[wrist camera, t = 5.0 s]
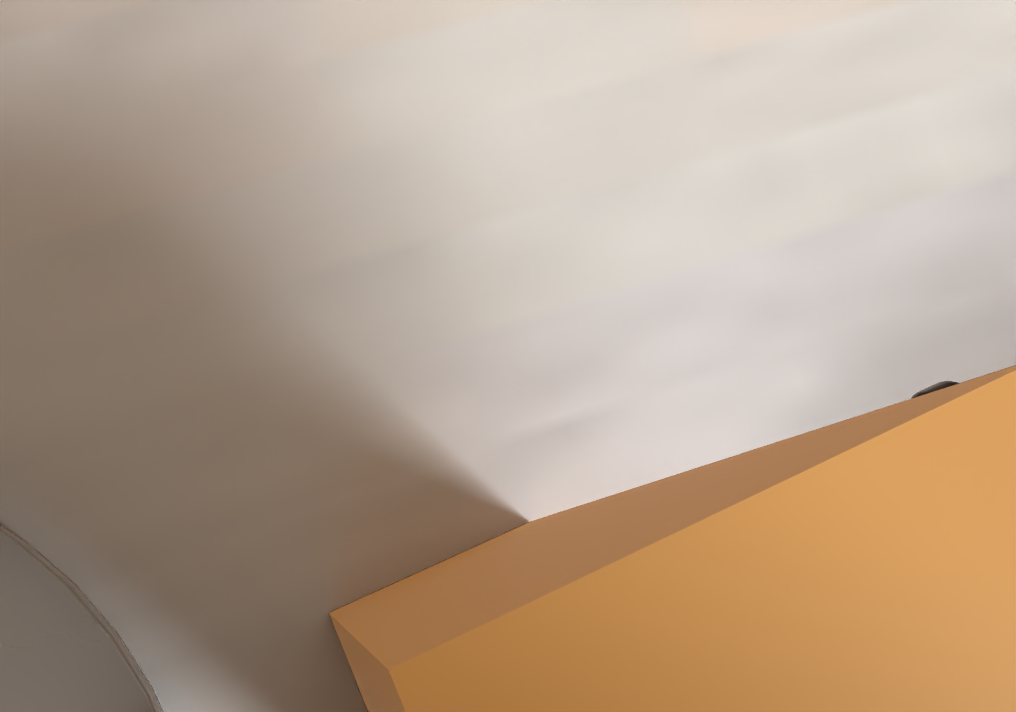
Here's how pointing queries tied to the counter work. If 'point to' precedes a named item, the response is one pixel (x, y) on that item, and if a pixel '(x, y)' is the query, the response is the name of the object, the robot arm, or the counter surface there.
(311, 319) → the counter surface
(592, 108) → the counter surface
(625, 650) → the wooden block
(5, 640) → the desk organizer stand
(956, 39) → the counter surface
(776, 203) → the counter surface
